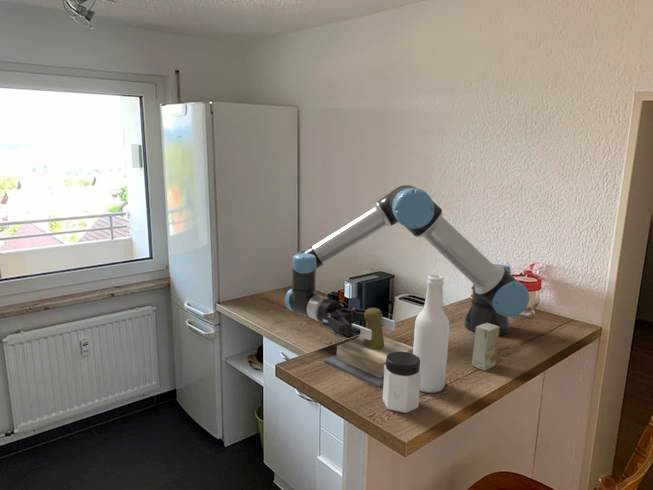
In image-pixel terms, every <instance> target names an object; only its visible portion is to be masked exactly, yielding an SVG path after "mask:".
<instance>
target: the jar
mask: <svg viewBox="0 0 653 490" xmlns="http://www.w3.org/2000/svg"><path fill="white" fill-rule="evenodd" d="M420 379H421V372H420V359H419V357H417V356H416V355H414V354H411V353H407V352H393V353H390V354H388V355H387V357H386V365H385V366H384V383H383V385H382V387H383V388H382V401H383V403H384V405H385V407H386V409H387V410H391V411H394V412H395V411H396V412H399V413H405V414H407V413H409V412H411V411H413V410H416V409H418V408H419V406H420V405H419V403H420V392H421V391H420Z"/></svg>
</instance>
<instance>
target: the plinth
mask: <svg viewBox="0 0 653 490" xmlns="http://www.w3.org/2000/svg"><path fill="white" fill-rule="evenodd" d="M383 340H384V347H382V348H380V349H368V348H366V347H364V338H362V337H360V336H358V337H356V338H355V339H351V340H349V341H347V342H344V343H341V344H339V345H337V346H336V354H334V355H333V356H330V357H328V358H325V359H324V361H323V363H325V364H327V365H330V366H332V367H334V368H337V369H339V370H341V371H343V372H345V373H348V374H350V375H352V376H354V377H356V378H358V379H361V380H363V381H365V382H368V383H370V384H372V385H373V386H376V387H382V386H383V383H384V366H385V365H386V357H387V355H388V354H390V353H393V352H407V353H411V354H413V346H411V345H408V344H405V343H403V342H399V341H397V340H395V339H391V338H389V337H385V336H383Z"/></svg>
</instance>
